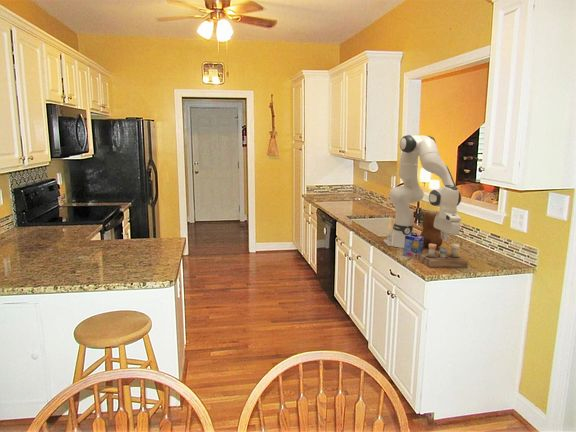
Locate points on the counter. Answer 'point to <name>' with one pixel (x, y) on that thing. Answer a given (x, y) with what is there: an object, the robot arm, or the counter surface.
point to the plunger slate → (443, 252)
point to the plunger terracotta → (432, 250)
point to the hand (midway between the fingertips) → (444, 239)
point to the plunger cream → (454, 250)
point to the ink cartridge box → (413, 245)
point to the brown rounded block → (431, 230)
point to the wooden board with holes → (442, 261)
